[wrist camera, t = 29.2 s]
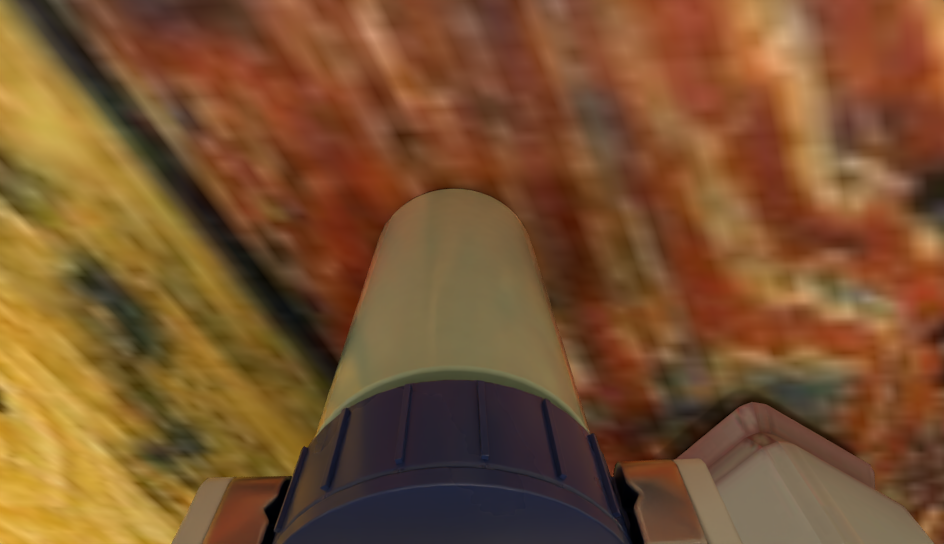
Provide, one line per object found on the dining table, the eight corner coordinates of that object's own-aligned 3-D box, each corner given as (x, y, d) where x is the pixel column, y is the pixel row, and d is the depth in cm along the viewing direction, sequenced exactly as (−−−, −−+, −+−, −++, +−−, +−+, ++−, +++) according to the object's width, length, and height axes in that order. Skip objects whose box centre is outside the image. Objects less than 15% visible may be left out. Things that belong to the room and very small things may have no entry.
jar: (533, 325, 21) (614, 667, 10) (386, 333, 21) (313, 683, 10) (533, 183, 18) (644, 442, 8) (365, 192, 18) (235, 467, 8)
